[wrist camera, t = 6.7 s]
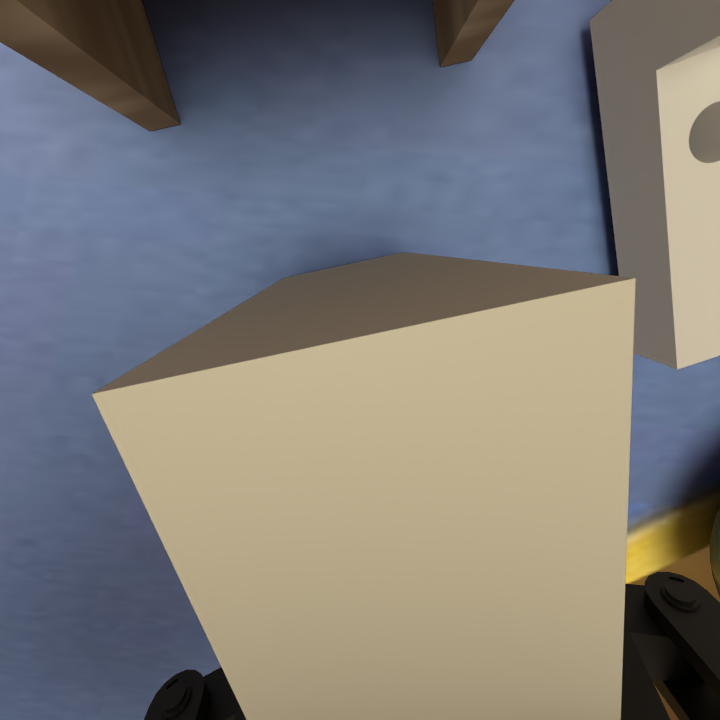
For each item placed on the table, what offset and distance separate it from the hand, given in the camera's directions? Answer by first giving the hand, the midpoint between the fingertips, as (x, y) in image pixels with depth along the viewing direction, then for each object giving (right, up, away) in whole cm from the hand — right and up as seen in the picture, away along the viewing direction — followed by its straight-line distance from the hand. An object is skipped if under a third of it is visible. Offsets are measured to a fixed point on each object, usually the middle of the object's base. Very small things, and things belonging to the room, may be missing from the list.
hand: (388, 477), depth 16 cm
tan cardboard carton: (-1, +4, +1) cm, 4 cm away
